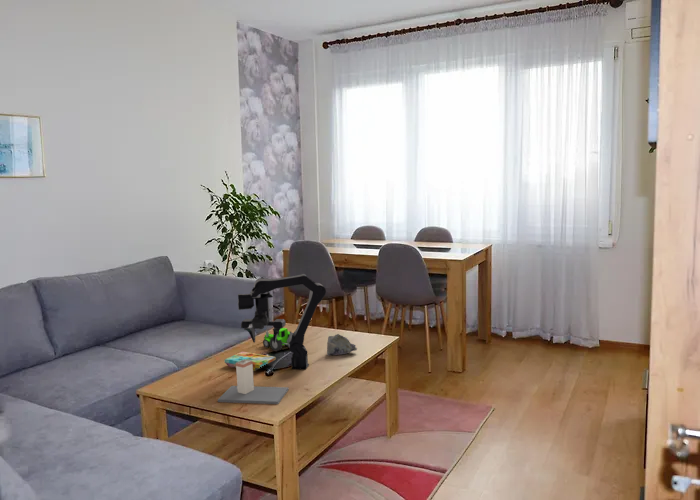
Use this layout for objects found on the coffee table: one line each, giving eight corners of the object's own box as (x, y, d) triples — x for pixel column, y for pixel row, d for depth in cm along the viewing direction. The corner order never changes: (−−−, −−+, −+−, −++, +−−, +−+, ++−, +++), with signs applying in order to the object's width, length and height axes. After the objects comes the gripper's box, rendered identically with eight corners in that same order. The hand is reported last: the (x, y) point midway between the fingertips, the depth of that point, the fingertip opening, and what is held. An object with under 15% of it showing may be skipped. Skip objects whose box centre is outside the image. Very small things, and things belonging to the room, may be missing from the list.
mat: (288, 389, 221) (288, 387, 221) (278, 404, 208) (278, 401, 208) (231, 388, 226) (231, 385, 225) (217, 402, 212) (217, 399, 212)
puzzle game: (241, 350, 261) (275, 355, 251) (241, 359, 262) (276, 365, 252) (224, 357, 251) (259, 363, 241) (225, 367, 251) (260, 373, 242)
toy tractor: (274, 342, 287) (273, 323, 286) (297, 347, 277) (296, 327, 276) (258, 347, 279) (257, 328, 277) (281, 353, 269) (280, 333, 267)
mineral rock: (358, 353, 264) (357, 332, 262) (346, 359, 255) (345, 338, 253) (335, 349, 271) (334, 329, 269) (323, 356, 262) (322, 335, 260)
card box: (246, 387, 222) (244, 359, 221) (254, 389, 220) (252, 360, 219) (237, 392, 218) (235, 363, 217) (245, 394, 216) (243, 364, 214)
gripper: (234, 312, 234) (237, 348, 236) (277, 312, 230) (279, 348, 232) (244, 306, 244) (246, 340, 247) (285, 306, 241) (286, 340, 243)
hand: (264, 342), depth 242 cm, fingers open, 9 cm apart
